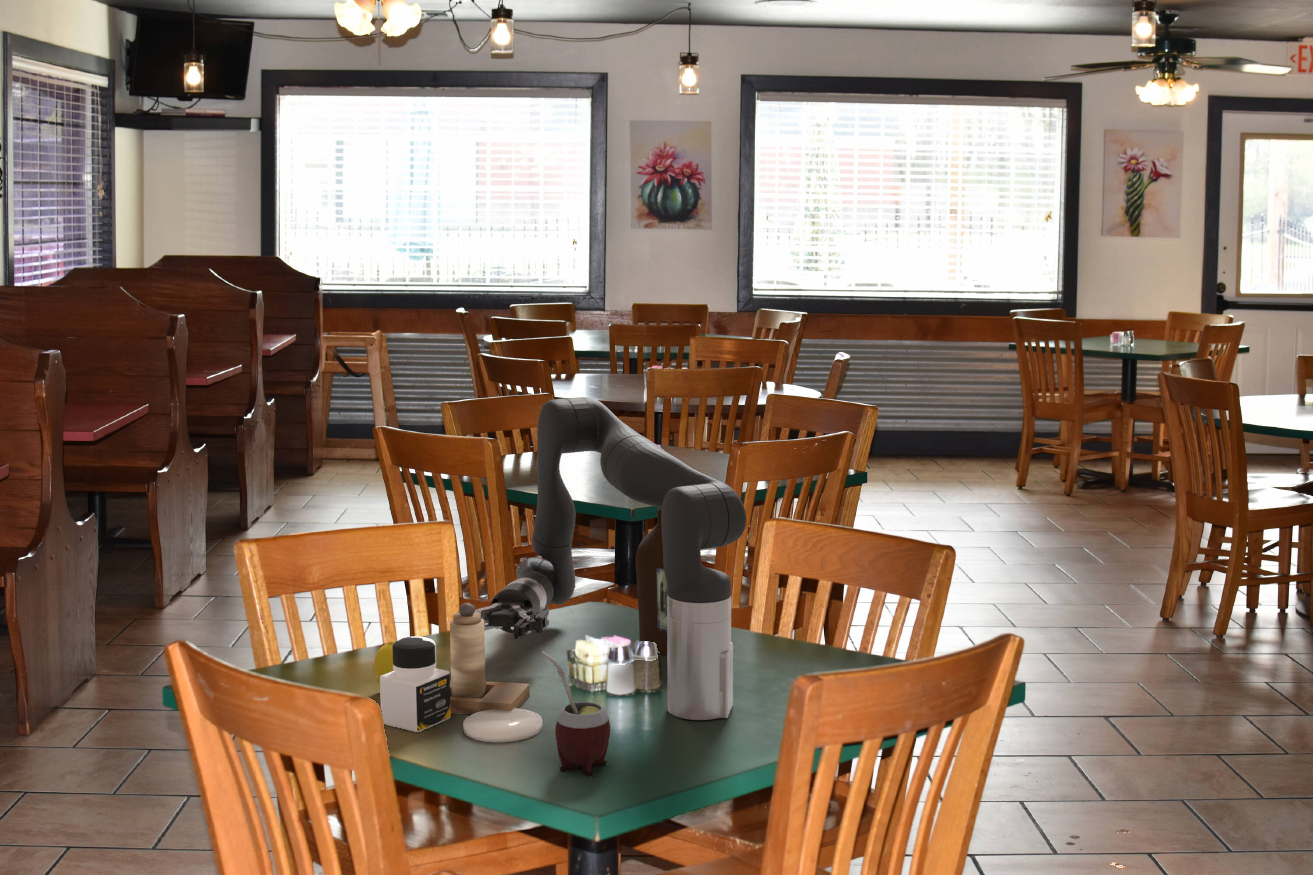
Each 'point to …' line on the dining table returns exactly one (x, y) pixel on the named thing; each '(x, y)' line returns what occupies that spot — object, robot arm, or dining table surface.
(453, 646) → the pepper mill
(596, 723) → the mate gourd
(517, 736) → the saucer
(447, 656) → the dining table surface
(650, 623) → the olive oil
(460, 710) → the frame
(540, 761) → the dining table surface
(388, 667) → the lemon
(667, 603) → the robot arm
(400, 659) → the medicine bottle
